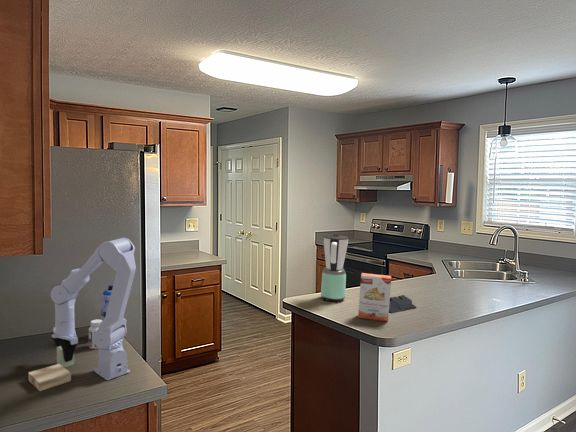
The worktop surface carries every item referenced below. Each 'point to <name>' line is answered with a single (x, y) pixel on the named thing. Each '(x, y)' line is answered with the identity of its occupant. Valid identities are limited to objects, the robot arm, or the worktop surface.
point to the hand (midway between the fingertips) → (65, 358)
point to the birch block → (49, 377)
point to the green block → (61, 358)
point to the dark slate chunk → (400, 304)
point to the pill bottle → (93, 332)
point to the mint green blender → (334, 268)
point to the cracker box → (374, 297)
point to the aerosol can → (105, 301)
